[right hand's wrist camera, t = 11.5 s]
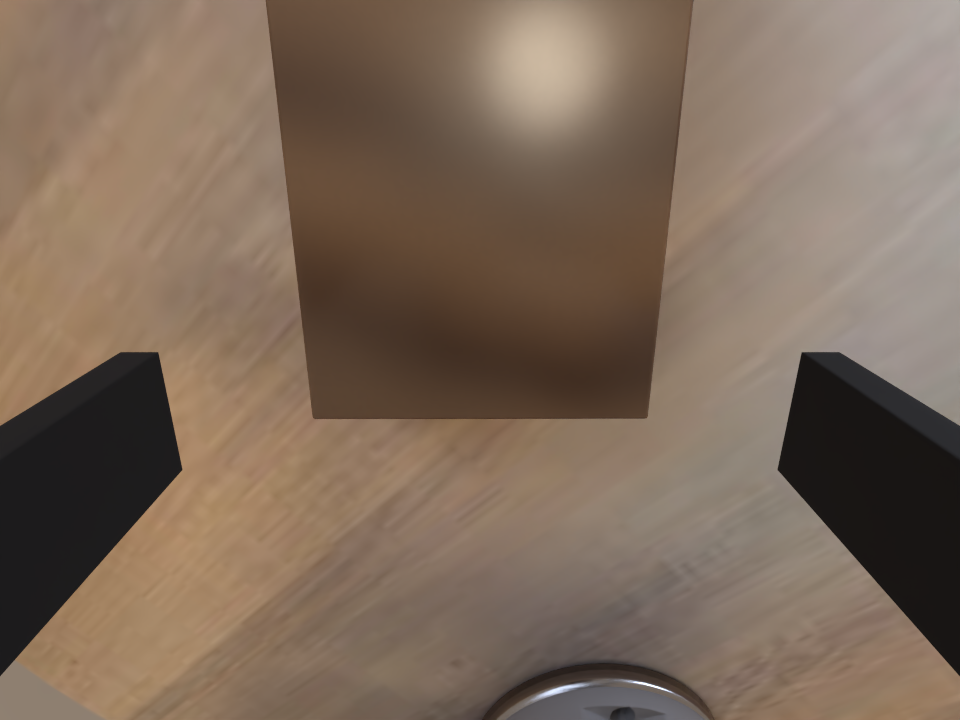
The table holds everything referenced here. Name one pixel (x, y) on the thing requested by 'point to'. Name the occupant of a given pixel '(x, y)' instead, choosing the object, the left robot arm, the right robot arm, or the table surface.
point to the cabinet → (479, 200)
